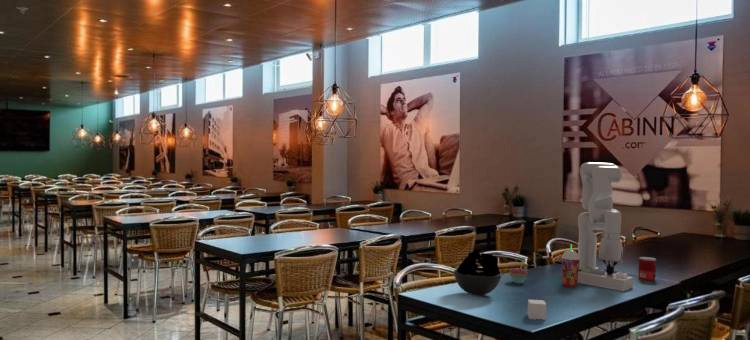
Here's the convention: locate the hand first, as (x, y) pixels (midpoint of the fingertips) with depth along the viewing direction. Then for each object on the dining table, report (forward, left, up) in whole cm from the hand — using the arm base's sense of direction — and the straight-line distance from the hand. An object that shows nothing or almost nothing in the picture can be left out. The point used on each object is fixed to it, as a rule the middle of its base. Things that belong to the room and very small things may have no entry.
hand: (610, 274), depth 283 cm
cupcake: (-32, -30, -6) cm, 44 cm away
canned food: (+6, +33, -6) cm, 34 cm away
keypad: (-3, 0, -6) cm, 6 cm away
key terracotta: (0, 0, -4) cm, 4 cm away
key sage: (-11, 0, -3) cm, 11 cm away
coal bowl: (-30, -68, -6) cm, 75 cm away
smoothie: (-12, -17, -6) cm, 22 cm away
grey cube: (+5, -80, -6) cm, 81 cm away
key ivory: (+6, 0, -3) cm, 6 cm away
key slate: (-5, 0, -3) cm, 6 cm away
